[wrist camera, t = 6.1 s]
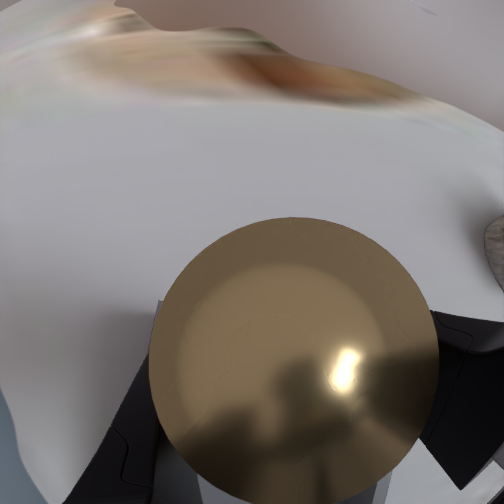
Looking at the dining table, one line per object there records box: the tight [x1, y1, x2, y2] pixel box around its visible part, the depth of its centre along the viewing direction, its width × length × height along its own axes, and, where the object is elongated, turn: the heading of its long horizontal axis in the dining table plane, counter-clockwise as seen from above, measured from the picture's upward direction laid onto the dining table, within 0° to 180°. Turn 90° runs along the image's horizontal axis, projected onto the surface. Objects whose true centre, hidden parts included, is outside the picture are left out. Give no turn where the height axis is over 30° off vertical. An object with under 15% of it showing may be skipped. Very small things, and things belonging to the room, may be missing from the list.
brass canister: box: [149, 217, 439, 504], centre depth 10 cm, size 5×5×11 cm
